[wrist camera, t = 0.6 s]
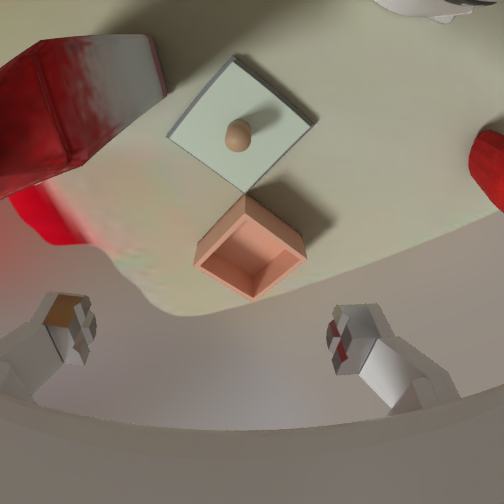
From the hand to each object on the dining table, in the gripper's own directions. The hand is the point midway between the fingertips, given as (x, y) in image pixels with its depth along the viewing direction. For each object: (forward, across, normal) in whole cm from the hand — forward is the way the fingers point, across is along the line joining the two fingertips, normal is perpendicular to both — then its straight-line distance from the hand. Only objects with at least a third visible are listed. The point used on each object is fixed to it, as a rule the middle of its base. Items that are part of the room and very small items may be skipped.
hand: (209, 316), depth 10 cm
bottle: (+32, +15, -6) cm, 36 cm away
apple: (+30, -38, -3) cm, 49 cm away
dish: (+34, -4, +16) cm, 38 cm away
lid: (+32, -2, 0) cm, 32 cm away
